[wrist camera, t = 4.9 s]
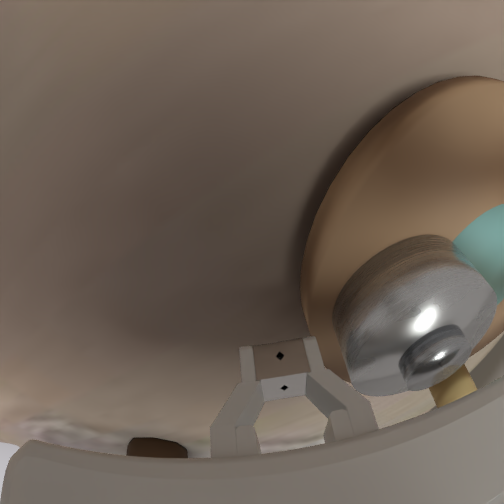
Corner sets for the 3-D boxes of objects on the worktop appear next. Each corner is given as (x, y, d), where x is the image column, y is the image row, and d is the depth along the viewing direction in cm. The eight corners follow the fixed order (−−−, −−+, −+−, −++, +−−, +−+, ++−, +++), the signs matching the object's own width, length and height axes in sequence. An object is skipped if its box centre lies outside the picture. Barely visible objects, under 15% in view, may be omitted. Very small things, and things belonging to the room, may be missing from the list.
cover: (337, 247, 10) (380, 334, 7) (479, 226, 10) (533, 284, 7) (326, 359, 15) (345, 428, 11) (439, 330, 15) (468, 385, 11)
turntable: (286, 55, 8) (401, 49, 3) (572, 109, 8) (645, 155, 3) (299, 387, 20) (317, 476, 14) (501, 324, 20) (535, 380, 14)
